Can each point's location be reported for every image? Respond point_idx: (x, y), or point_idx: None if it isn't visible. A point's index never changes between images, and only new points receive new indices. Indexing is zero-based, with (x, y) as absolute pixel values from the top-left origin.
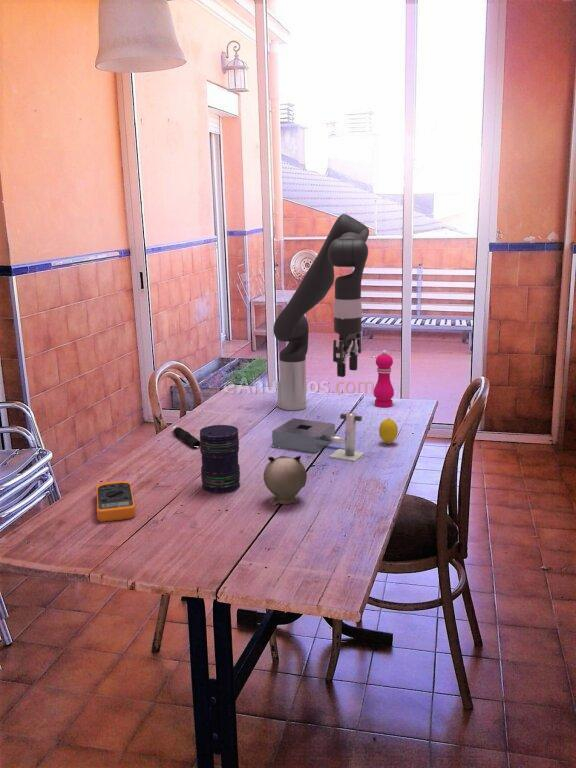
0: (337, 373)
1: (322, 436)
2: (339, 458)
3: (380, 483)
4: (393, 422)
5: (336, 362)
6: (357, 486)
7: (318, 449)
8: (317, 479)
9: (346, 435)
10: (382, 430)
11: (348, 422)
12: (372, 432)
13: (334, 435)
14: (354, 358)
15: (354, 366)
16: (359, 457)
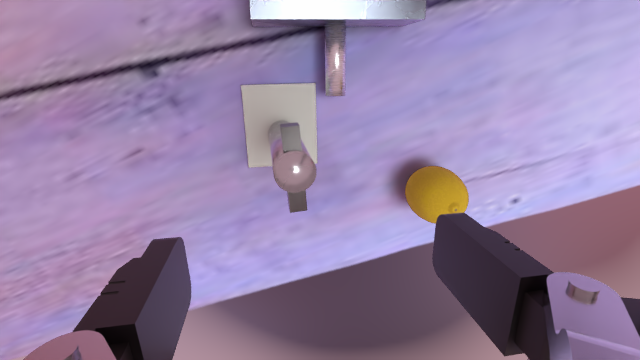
0: (122, 266)
1: (313, 21)
2: (244, 119)
3: None
4: None
5: (53, 347)
6: (90, 245)
7: (277, 26)
8: (60, 137)
9: (271, 142)
10: (415, 190)
11: (272, 163)
12: (497, 104)
13: (403, 24)
14: (499, 328)
15: (451, 272)
16: None
